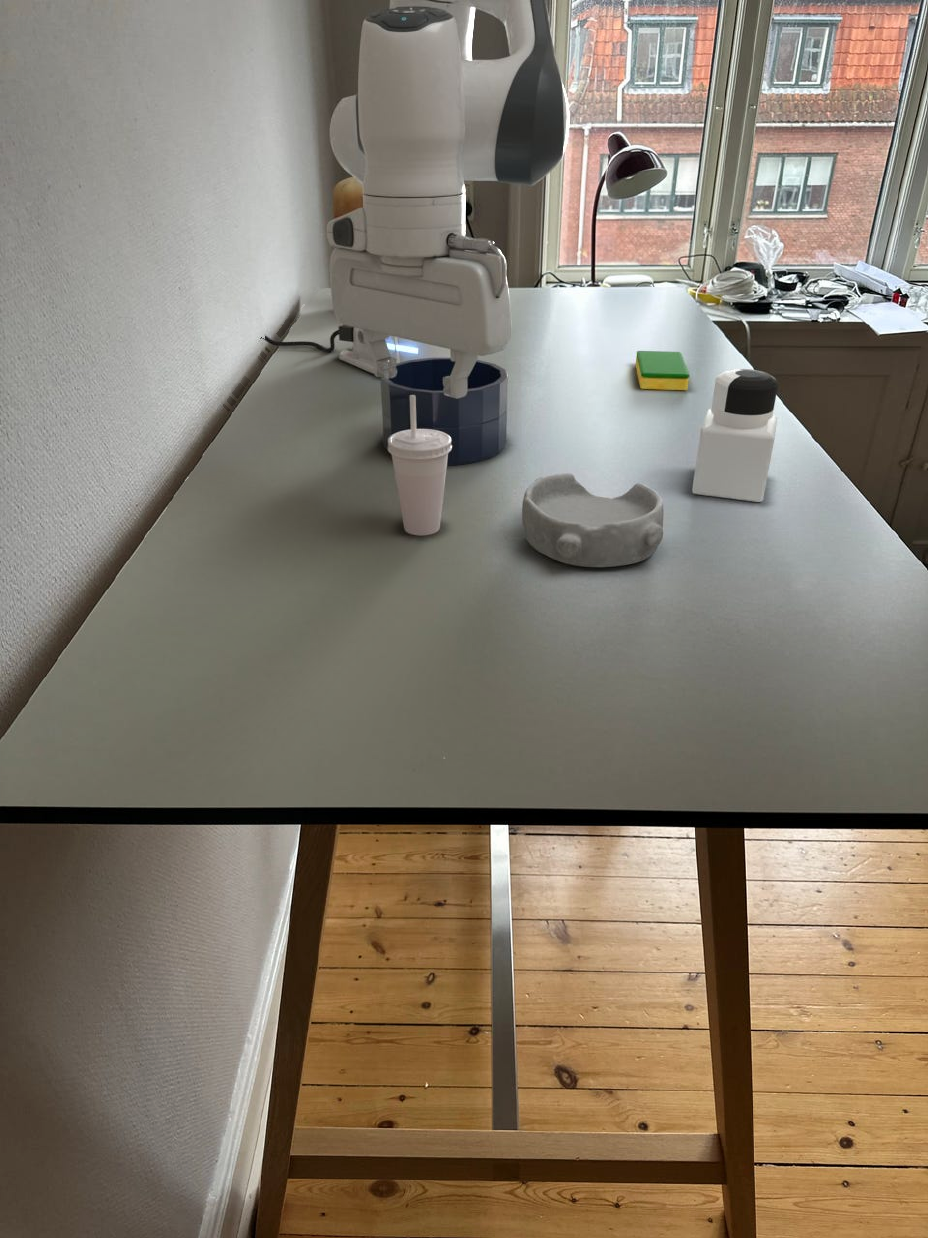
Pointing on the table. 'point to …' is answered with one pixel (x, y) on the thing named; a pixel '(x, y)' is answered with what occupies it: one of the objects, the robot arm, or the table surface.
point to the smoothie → (420, 474)
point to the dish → (591, 522)
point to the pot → (449, 406)
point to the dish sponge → (661, 370)
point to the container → (737, 437)
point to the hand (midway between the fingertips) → (419, 386)
